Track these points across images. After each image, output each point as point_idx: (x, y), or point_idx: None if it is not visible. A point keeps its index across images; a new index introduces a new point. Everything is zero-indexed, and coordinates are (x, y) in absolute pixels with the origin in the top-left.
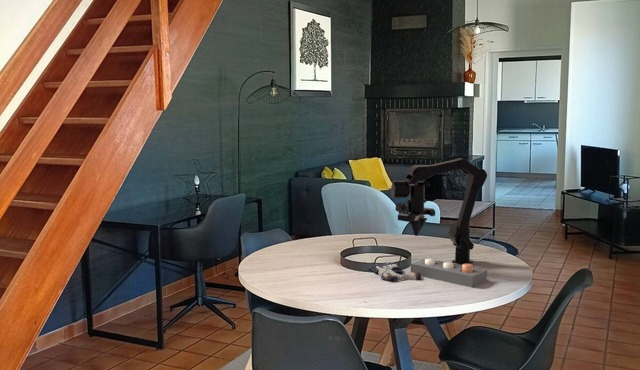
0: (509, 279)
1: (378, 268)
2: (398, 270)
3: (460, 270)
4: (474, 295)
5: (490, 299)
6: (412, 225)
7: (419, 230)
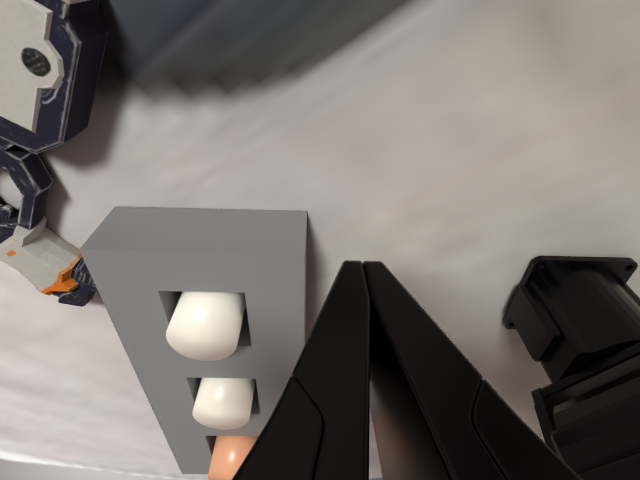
0: (370, 455)
1: None
2: (10, 163)
3: (222, 433)
4: (131, 451)
5: (143, 474)
6: (256, 467)
7: (372, 402)
